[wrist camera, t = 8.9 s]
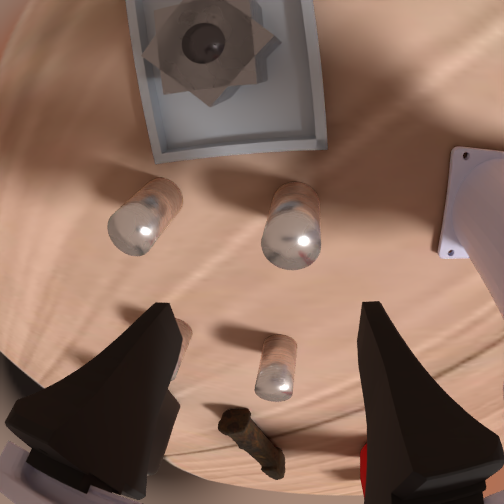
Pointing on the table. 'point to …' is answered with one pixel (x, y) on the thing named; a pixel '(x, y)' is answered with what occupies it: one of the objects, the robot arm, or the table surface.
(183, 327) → the cylinder
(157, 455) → the battery charger
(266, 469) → the dark brown bar
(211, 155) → the tray
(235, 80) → the nut
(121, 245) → the cylinder
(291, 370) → the cylinder
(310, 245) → the cylinder
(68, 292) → the table surface
